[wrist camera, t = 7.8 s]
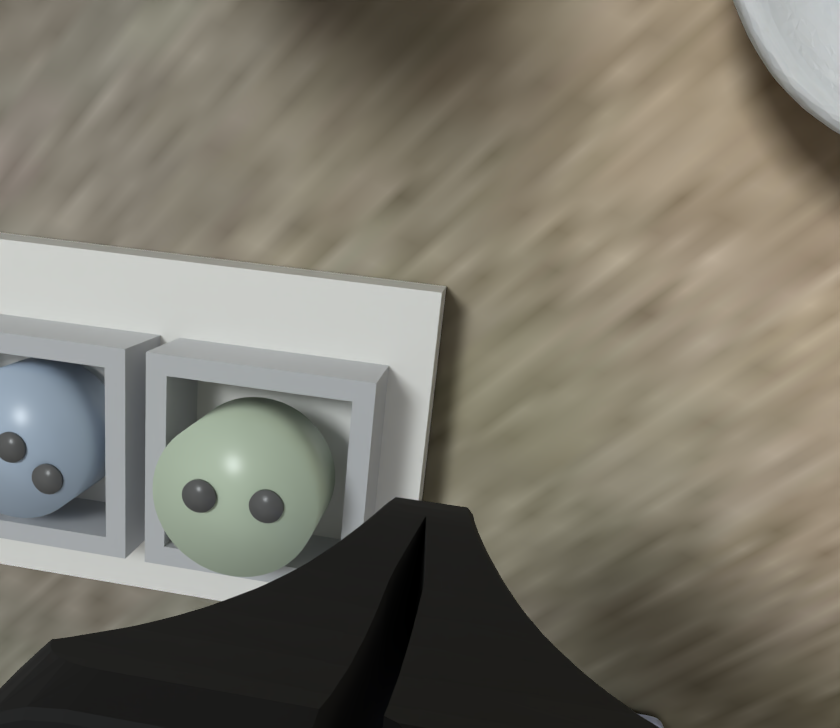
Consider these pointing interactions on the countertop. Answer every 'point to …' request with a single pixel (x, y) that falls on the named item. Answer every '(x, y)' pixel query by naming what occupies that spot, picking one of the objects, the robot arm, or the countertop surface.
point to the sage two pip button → (244, 486)
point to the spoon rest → (799, 50)
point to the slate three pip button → (49, 435)
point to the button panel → (215, 388)
